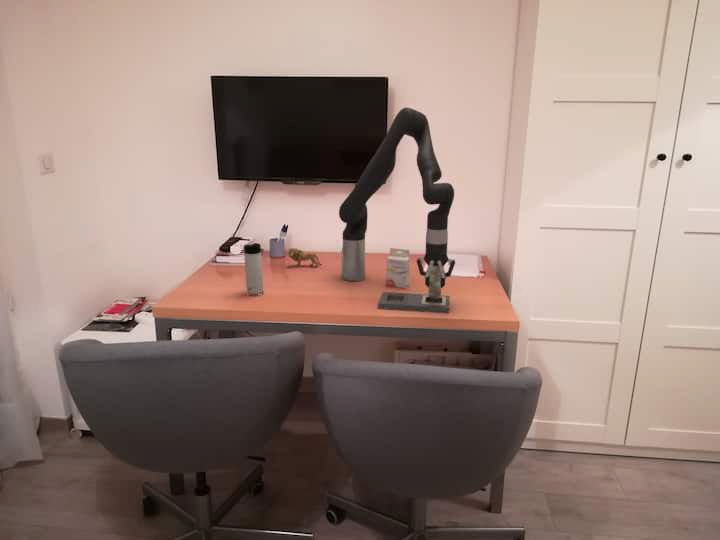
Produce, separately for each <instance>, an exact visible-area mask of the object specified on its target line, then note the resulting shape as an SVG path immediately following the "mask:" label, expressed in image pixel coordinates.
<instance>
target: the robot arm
mask: <svg viewBox="0 0 720 540" xmlns="http://www.w3.org/2000/svg"><path fill="white" fill-rule="evenodd" d="M404 136H408V137H411V138H413V140H414V142H415V143H416V144H417V151H418V152H417V155H416V166H417V169H418V173H419V174H420V177H421V181H422V182H421V183H422V184H421V185H422V198H423V201H424V202H425V203H426V204H428V205H430V206H431V205H432V206H433V205H438V207H437V208H436V209H435V208H434V209H433V210H430V211H429V212H428V213H427V219H426V232H425V233H426V234H425V253H424V254H425V255H424V256H423V257H418V258H417V259H416V265H417V268H418V271H419V274H420V276H423V277H424V278H425V279H424V285H425V286H426V287H427V288H429V274H430V271H431V266H440V272H441V275H442V278H441V289H442V288H444V287H445V285H446V278H448V277H451V276H452V274H453V273H452V272H453V271H454V267H455V264H456V259H450V258H449V257H448V241H449V237H448V236H449V233H448V231H449V230H448V223H449V221H448V220H449V219H448V218H449V215H450V212H451V208H452V205H453V202H454V198H455V189H454V187H453V185H452V183H449V182H439V181H440V180H441V178H442V175H443V173H442V170H441V167H440V165H439V161H438V159H437V157H436V153H435V151H434V147H433V146H434V145H433V142H432V141H433V139H432V136H431V130H430V125H429V120H428V118H427V116H426V115H425V114H424V113H422V112H420V111H418V110H416V109H413V108H411V107H408V106H407V107H403V108H402V109H400V110H399V111H398V113H397V114H396V116H395V117H394V119H393V121H392V123H391V125H390V127H389V129H388V132H387V133H386V135H385V137H384V139H383V140H382V143H381V144H380V146H379V147H378V149H377V150H376V152H375V154H374V155H373V157H372V158H371V159H370V161H369V162H368V164H367V166H366V168H365V170H364V171H363V173H362V174H361V176H360V177H359V179H358V181H357V183H356V185H354V188H353V189H352V190H351V192H350V194H348V195H347V197H346V198H345V200H343V202H341V205H340V206H339V210H338V211H339V212H338V215H339V216H338V217H339V219H340V220H341V221H342V222H343V223H344V224H346V225H345V228H344V229H343V231H342V256H341V279H342V280H345V281H349V282H359V281H363V280H365V279H366V233H367V230H368V206H367V202H368V201H369V199H371V197H372V196H373V195H375V194H376V192H377V191H379V190H380V189H381V187H382V186H383V185H385V183H386V182H387V181H388V179H389V177H390V176H391V175H392V173H393V172H394V170H395V166H396V163H397V161H396V160H397V149H398V146H399V144H400V142H401V140H402V139H403V138H404ZM436 182H437V183H436ZM438 182H439V183H438ZM424 262H425V263H426V265H427V268H426V271H425V270H424V267H423V266H424ZM447 263H448V266H449V267H448V269H447V272H445V271H446V270H445V265H446V264H447ZM429 268H430V269H429Z"/></svg>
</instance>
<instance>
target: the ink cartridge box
mask: <svg viewBox="0 0 720 540" xmlns="http://www.w3.org/2000/svg"><path fill="white" fill-rule="evenodd" d="M400 252H401V253H400ZM389 253H390V255H388V256H387V258H386V268H385V269H386V272H385V275H386V276H385V286H387V287H395V288H401V289H407V287H408V286H409V284H410V282H409V281H410V263H411V261H410V260H411V258H410V250H409V249H403V248H392V247H390V248H389Z"/></svg>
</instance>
